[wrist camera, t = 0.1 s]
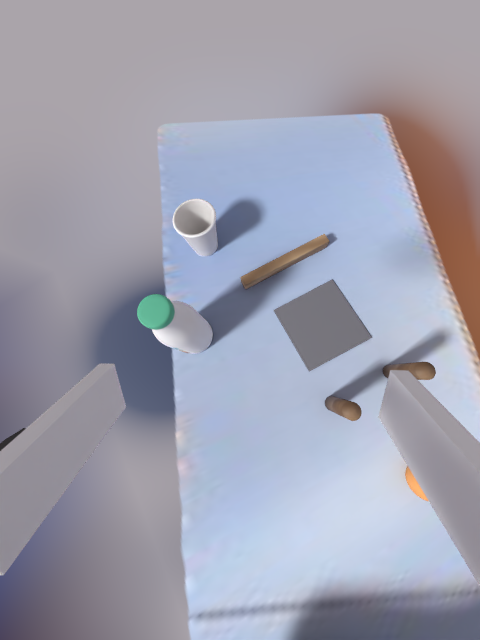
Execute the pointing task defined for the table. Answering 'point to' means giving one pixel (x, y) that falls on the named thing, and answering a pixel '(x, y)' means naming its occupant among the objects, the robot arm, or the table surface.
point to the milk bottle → (175, 324)
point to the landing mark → (321, 325)
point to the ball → (414, 484)
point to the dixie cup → (197, 225)
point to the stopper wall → (284, 261)
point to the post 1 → (343, 408)
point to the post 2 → (413, 370)
